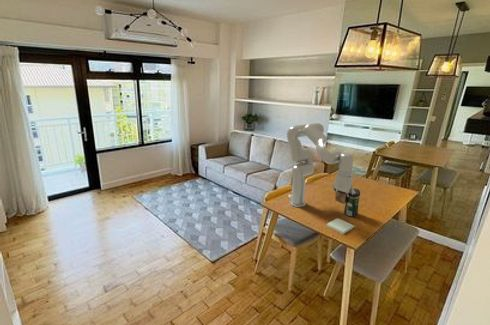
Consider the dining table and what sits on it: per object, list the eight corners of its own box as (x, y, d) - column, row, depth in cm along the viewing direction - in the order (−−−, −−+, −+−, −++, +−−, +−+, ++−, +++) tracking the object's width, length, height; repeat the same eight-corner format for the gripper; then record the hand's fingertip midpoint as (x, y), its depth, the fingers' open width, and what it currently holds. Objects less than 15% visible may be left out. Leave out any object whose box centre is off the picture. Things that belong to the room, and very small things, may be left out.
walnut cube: (335, 200, 162) (336, 191, 160) (340, 198, 166) (341, 189, 164) (343, 203, 157) (344, 194, 156) (349, 201, 161) (350, 192, 159)
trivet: (326, 226, 166) (326, 223, 166) (337, 220, 173) (337, 217, 173) (343, 234, 157) (343, 232, 157) (353, 227, 164) (353, 225, 164)
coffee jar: (348, 209, 187) (351, 186, 181) (359, 213, 182) (362, 189, 176) (341, 214, 181) (344, 190, 175) (352, 218, 175) (356, 193, 170)
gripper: (329, 171, 160) (326, 197, 165) (355, 178, 147) (351, 206, 153) (335, 168, 165) (333, 194, 170) (361, 175, 152) (358, 203, 157)
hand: (342, 199), depth 161 cm, fingers closed on walnut cube, 6 cm apart
